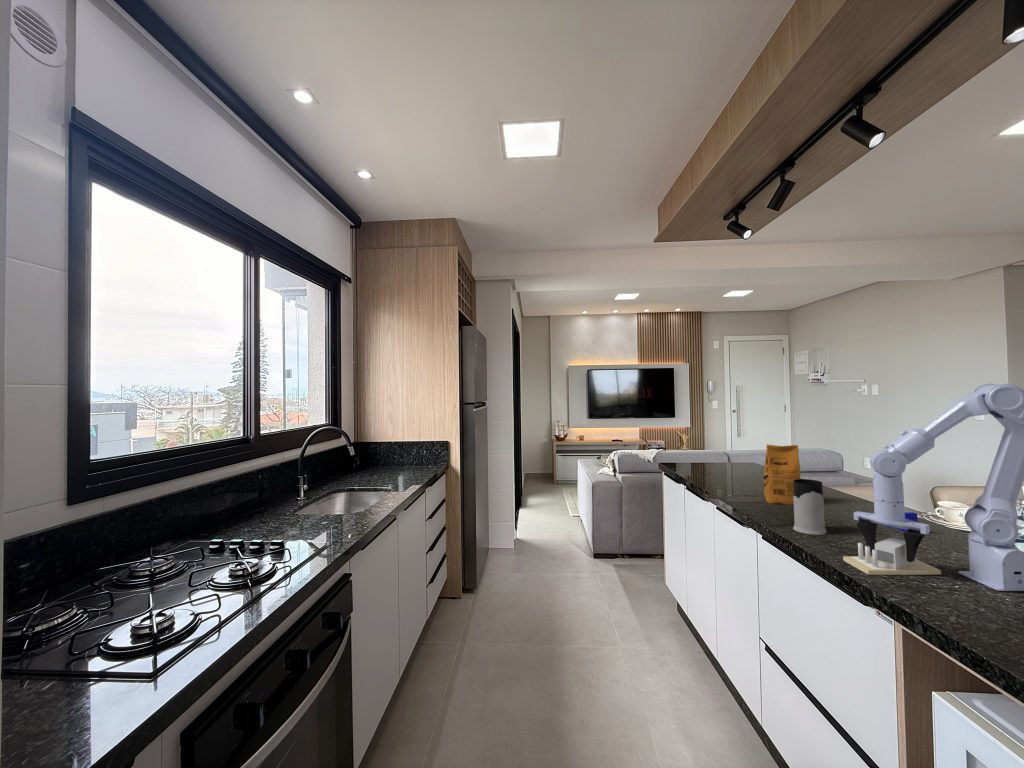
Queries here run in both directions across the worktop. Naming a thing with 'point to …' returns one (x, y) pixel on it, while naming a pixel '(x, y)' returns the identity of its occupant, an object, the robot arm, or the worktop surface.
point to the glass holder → (809, 507)
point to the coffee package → (781, 473)
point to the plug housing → (892, 553)
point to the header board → (872, 568)
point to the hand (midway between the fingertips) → (891, 556)
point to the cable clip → (909, 516)
